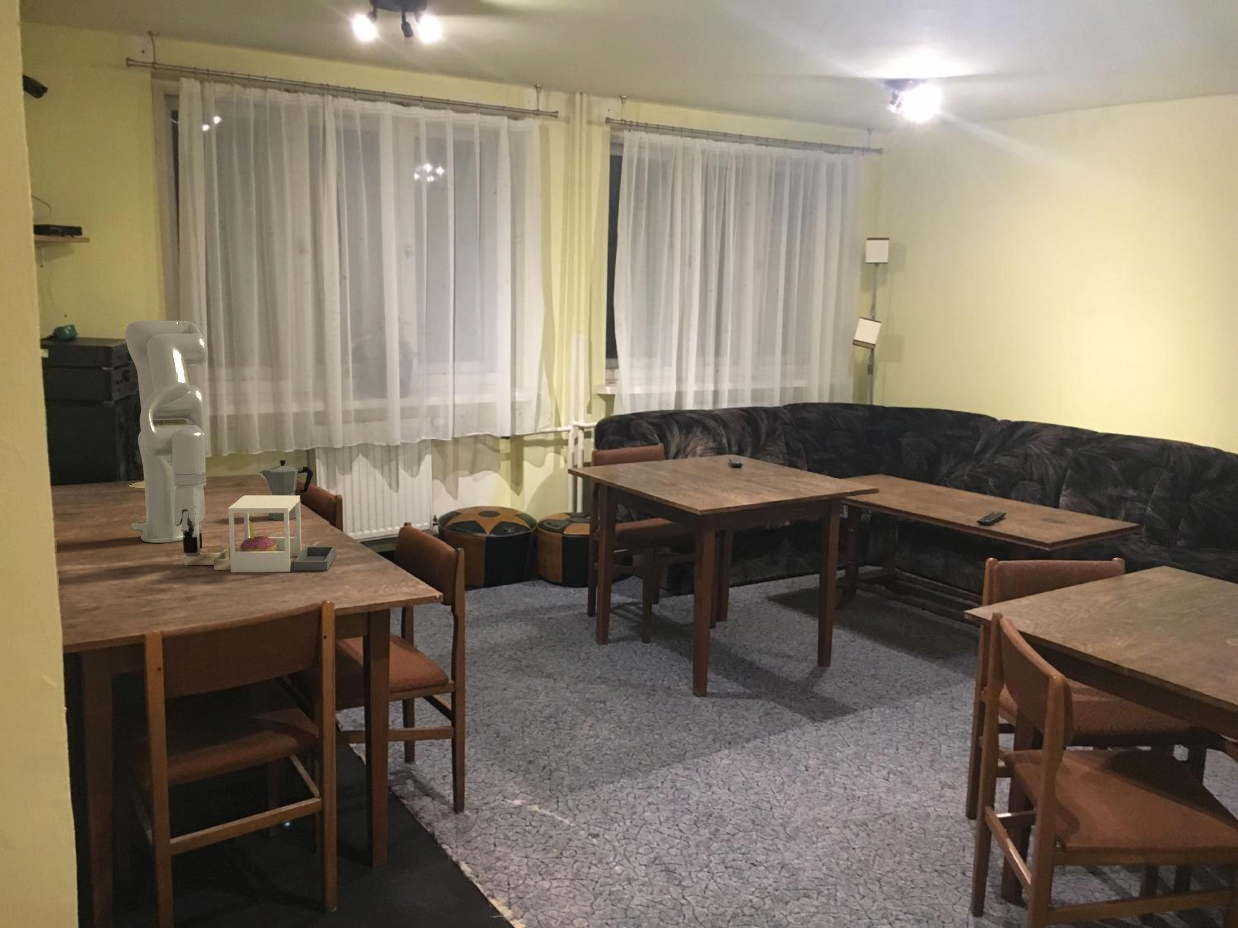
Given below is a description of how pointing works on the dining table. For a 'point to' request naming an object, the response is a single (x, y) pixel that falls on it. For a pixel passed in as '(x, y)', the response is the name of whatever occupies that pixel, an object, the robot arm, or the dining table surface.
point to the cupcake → (257, 543)
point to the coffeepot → (286, 484)
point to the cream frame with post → (210, 556)
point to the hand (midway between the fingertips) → (193, 549)
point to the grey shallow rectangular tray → (315, 558)
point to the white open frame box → (286, 545)
